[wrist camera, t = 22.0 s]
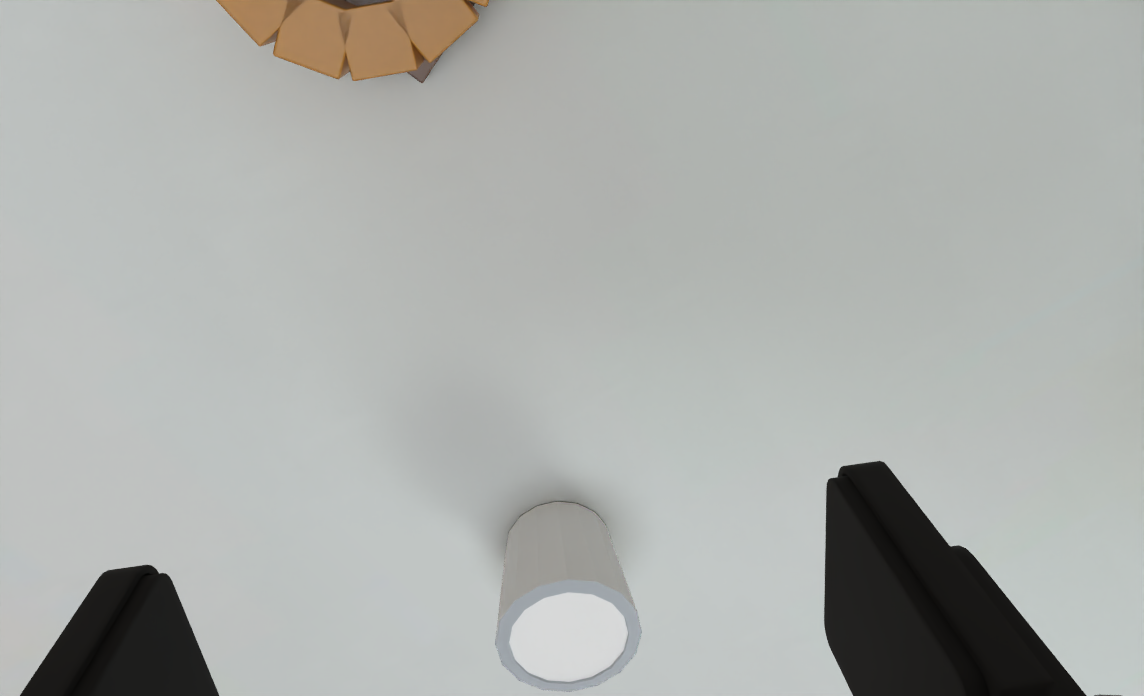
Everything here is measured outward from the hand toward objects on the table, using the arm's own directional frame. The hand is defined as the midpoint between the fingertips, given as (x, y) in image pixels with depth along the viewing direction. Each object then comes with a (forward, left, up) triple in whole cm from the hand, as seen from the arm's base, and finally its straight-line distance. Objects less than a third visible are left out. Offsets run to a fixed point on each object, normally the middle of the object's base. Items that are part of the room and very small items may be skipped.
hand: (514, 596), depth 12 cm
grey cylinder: (0, +20, -27) cm, 34 cm away
